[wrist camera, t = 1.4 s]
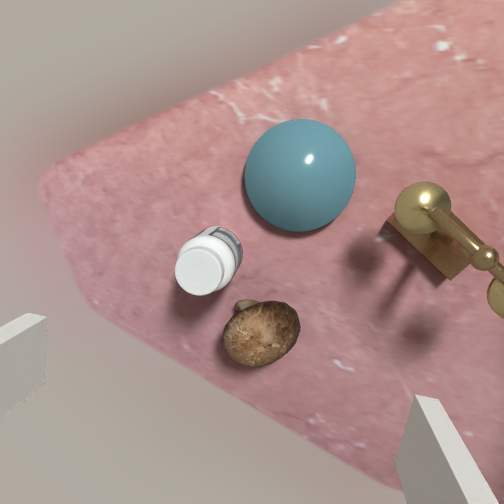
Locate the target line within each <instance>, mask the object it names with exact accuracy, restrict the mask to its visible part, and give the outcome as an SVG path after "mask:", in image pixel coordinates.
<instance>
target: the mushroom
mask: <svg viewBox="0 0 504 504" xmlns="http://www.w3.org/2000/svg"><path fill="white" fill-rule="evenodd" d="M235 308H236V309H237V311H238V313H236V314H234V315H233V316H232V318H231V319H230V320H229V322H228V323H227V324H226V326H225V329H224V334H223V339H222V342H223V345H224V348H225V350H226V352H227V354H228V356H229V357H230V358H231V359H232V360H234V361H236V362H238V363H240V364H242V365H244V366H247V367H261V366H264V365H268V364H271V363H273V362H275V361H276V360H278V359H280V358H281V357H283V356H284V355H285V354H286V353H288V352H289V351H290V349H291V348H292V347H293V346H294V345H295V343H296V341H297V338H298V335H299V332H300V322H299V318H298V314H297V312H296V310H294V309H293V308H292V307H290V306H289V305H288V304H286V303H284V302H278V301H266V302H258V301H254V300H242V301H238V302H237V303H236V304H235Z"/></svg>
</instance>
